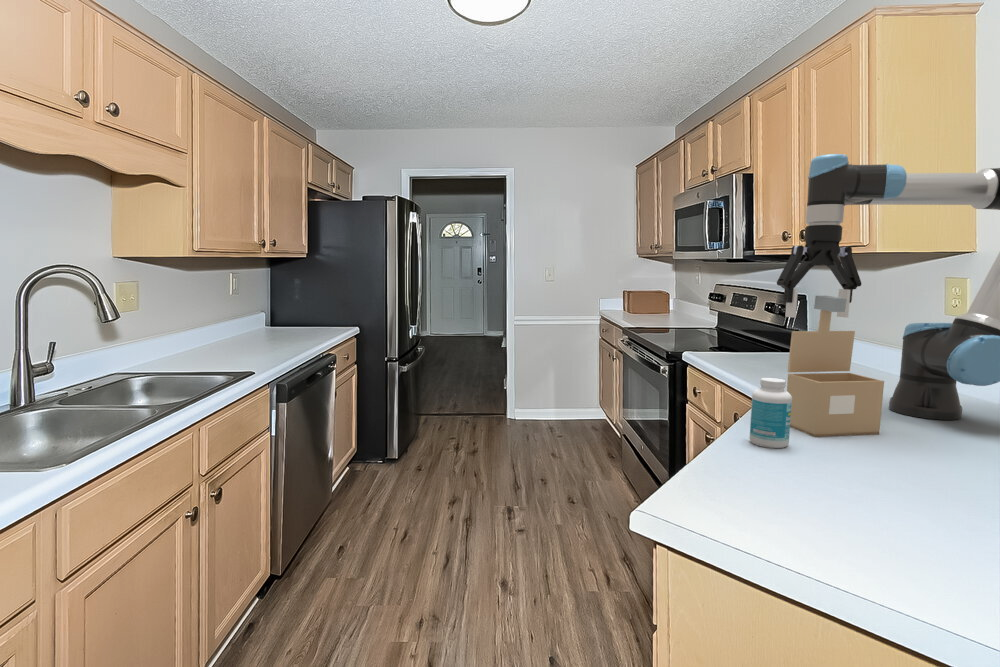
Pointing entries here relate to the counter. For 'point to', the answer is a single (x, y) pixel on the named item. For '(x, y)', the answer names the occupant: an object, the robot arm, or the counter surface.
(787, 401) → the pill bottle
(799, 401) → the carton
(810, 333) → the flap
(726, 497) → the counter surface
